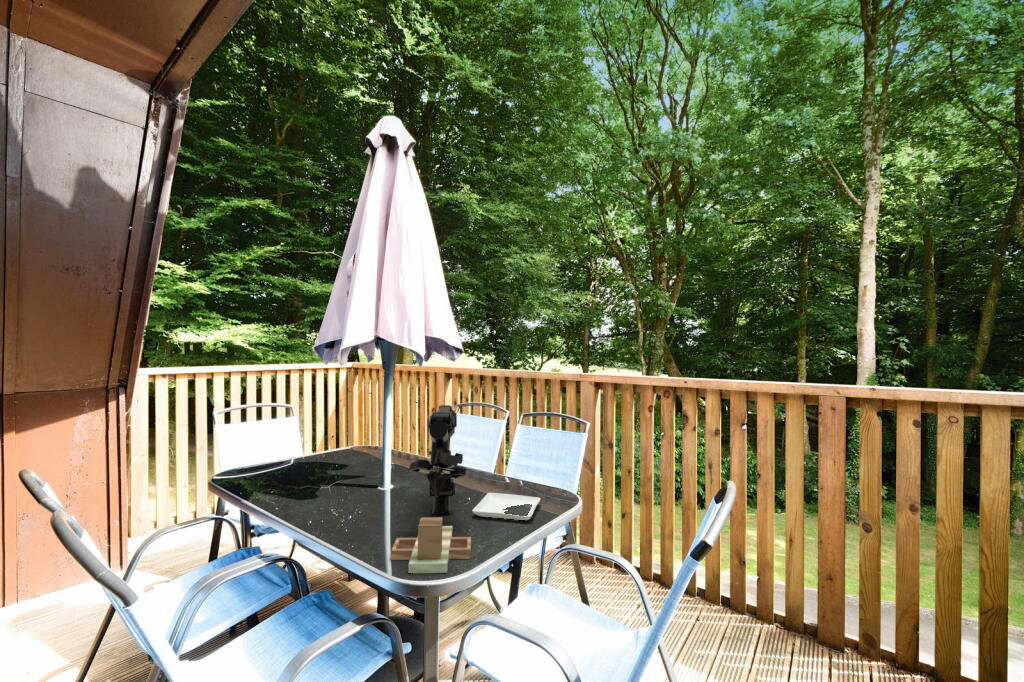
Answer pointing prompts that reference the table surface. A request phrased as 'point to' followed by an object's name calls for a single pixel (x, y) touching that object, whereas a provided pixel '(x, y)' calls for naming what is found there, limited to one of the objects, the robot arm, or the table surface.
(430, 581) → the table surface
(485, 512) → the salad plate
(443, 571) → the track
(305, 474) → the table surface
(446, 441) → the robot arm
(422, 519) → the walnut block
